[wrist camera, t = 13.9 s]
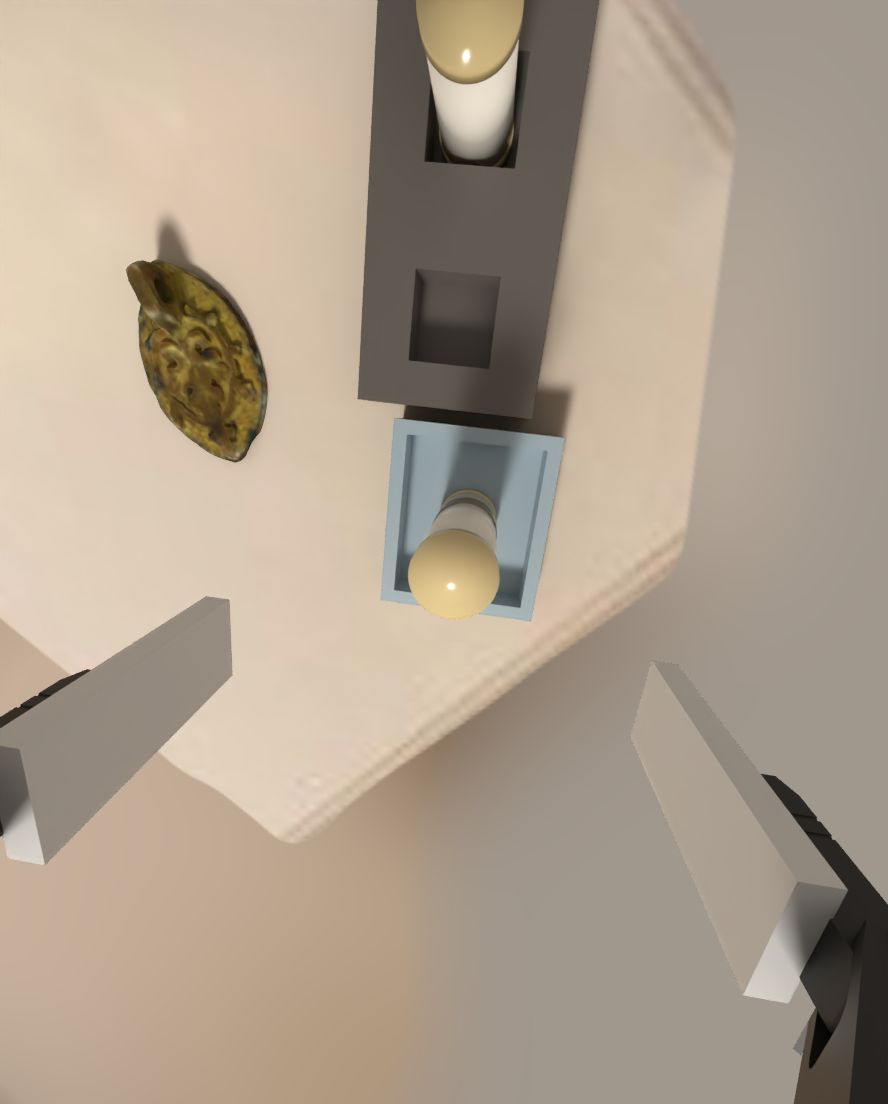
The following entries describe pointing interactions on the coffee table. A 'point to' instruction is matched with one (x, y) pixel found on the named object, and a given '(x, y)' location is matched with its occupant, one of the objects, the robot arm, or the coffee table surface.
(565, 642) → the coffee table surface
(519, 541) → the parts tray
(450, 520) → the cylinder
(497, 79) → the fuse
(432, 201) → the fuse holder
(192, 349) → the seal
